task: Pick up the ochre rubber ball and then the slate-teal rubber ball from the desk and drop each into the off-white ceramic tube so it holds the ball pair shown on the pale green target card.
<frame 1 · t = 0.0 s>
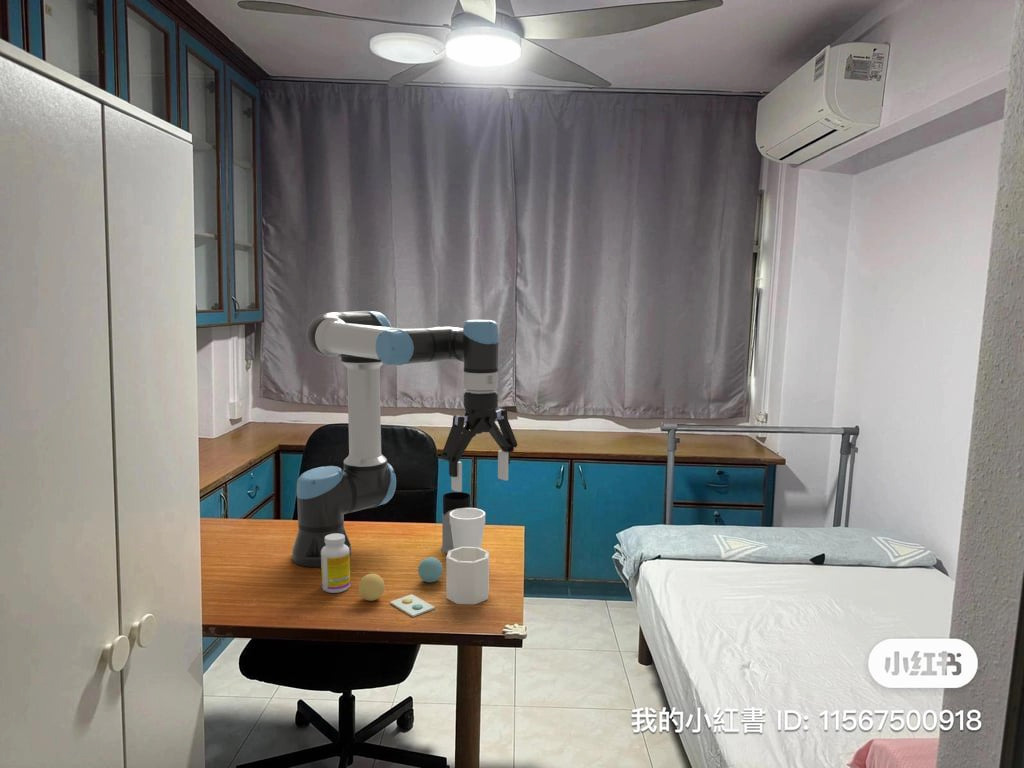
hand: (480, 484, 159), 28 cm above the table, fingers open, 13 cm apart
supplement bottle: (336, 588, 170), on the table
target card: (412, 606, 161), on the table
foam cup: (467, 561, 187), on the table
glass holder: (456, 545, 199), on the table
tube: (467, 595, 167), on the table
ball teal: (430, 581, 174), on the table
ball ochre: (371, 599, 164), on the table
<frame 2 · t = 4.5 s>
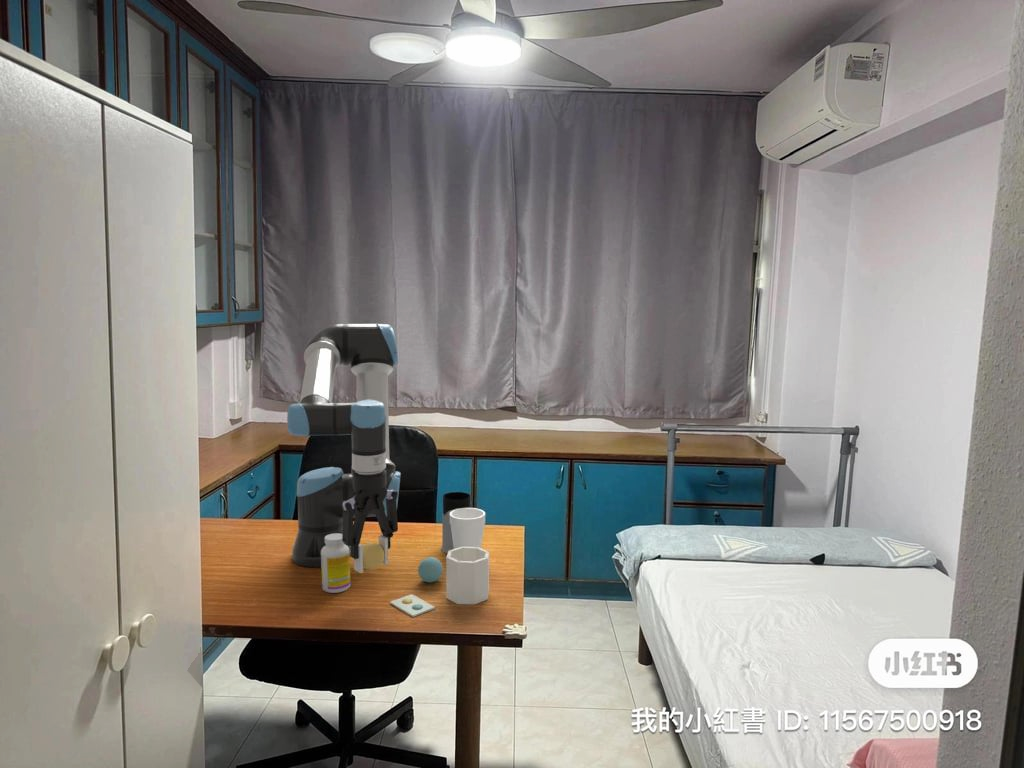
hand: (371, 566, 164), 8 cm above the table, fingers closed on ball ochre, 6 cm apart
ball ochre: (371, 568, 164), point 7 cm above the table, touching gripper
everything else where it was.
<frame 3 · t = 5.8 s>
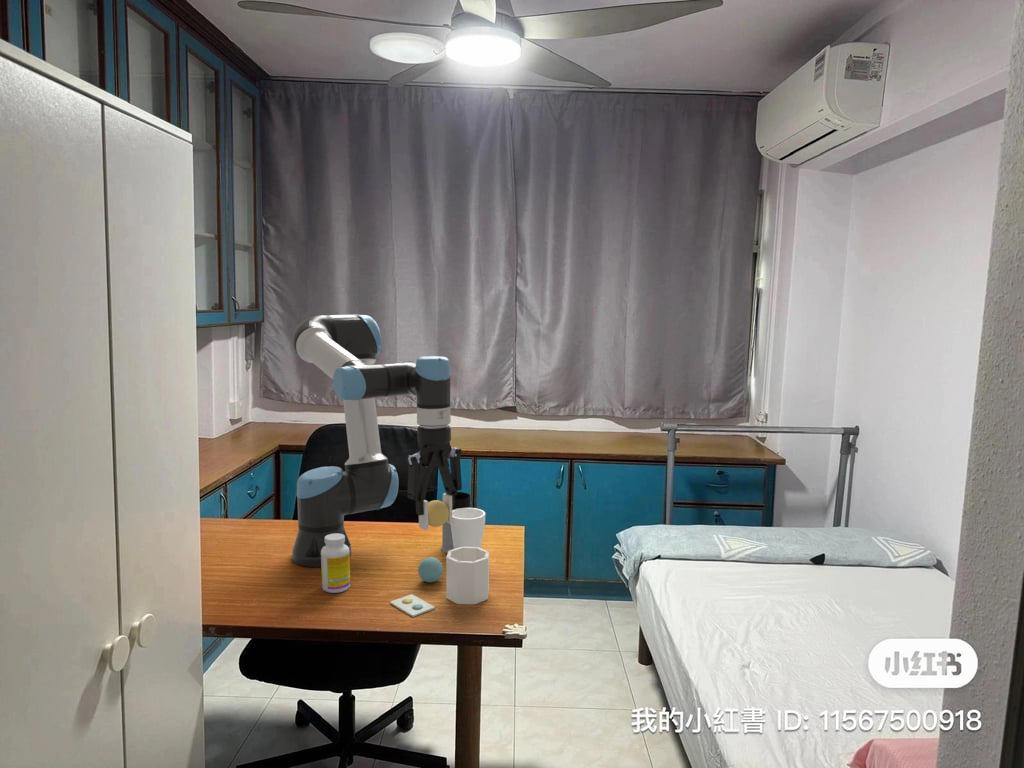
hand: (435, 524, 162), 18 cm above the table, fingers closed on ball ochre, 6 cm apart
ball ochre: (435, 526, 162), point 17 cm above the table, touching gripper
everything else where it was.
when the fingers open (11 cm above the table, at t = 7.4 s): ball ochre drops 10 cm, resting on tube.
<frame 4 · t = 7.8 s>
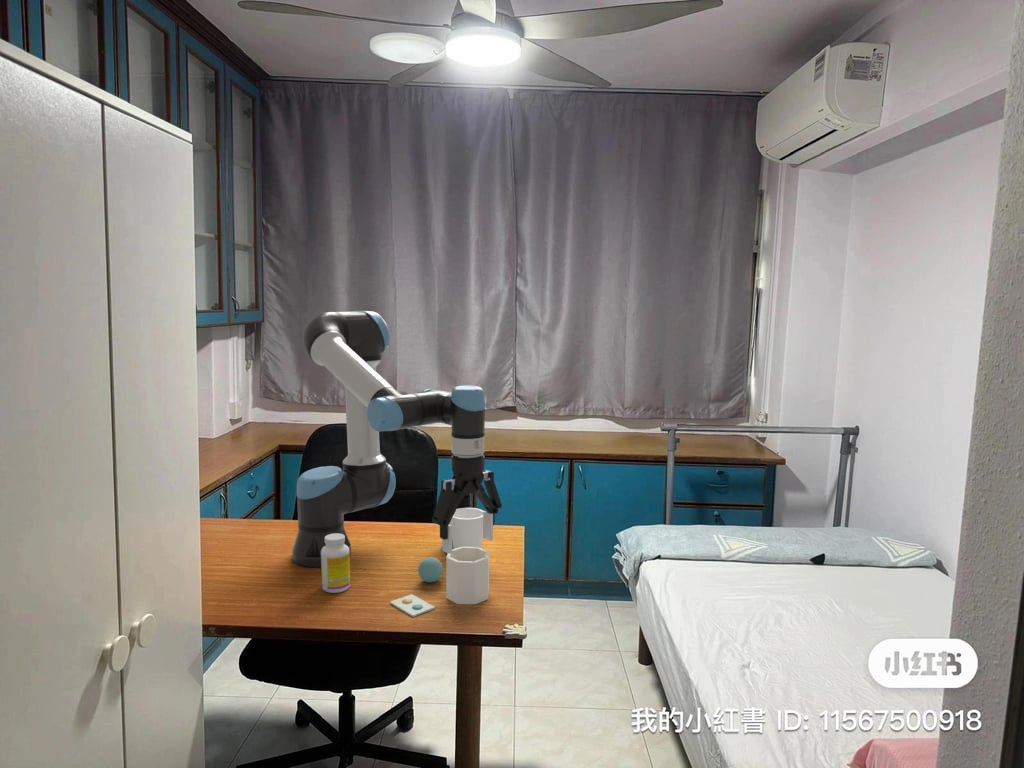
hand: (468, 545, 165), 12 cm above the table, fingers open, 11 cm apart
ball ochre: (468, 592, 167), point 1 cm above the table, touching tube
everything else where it was.
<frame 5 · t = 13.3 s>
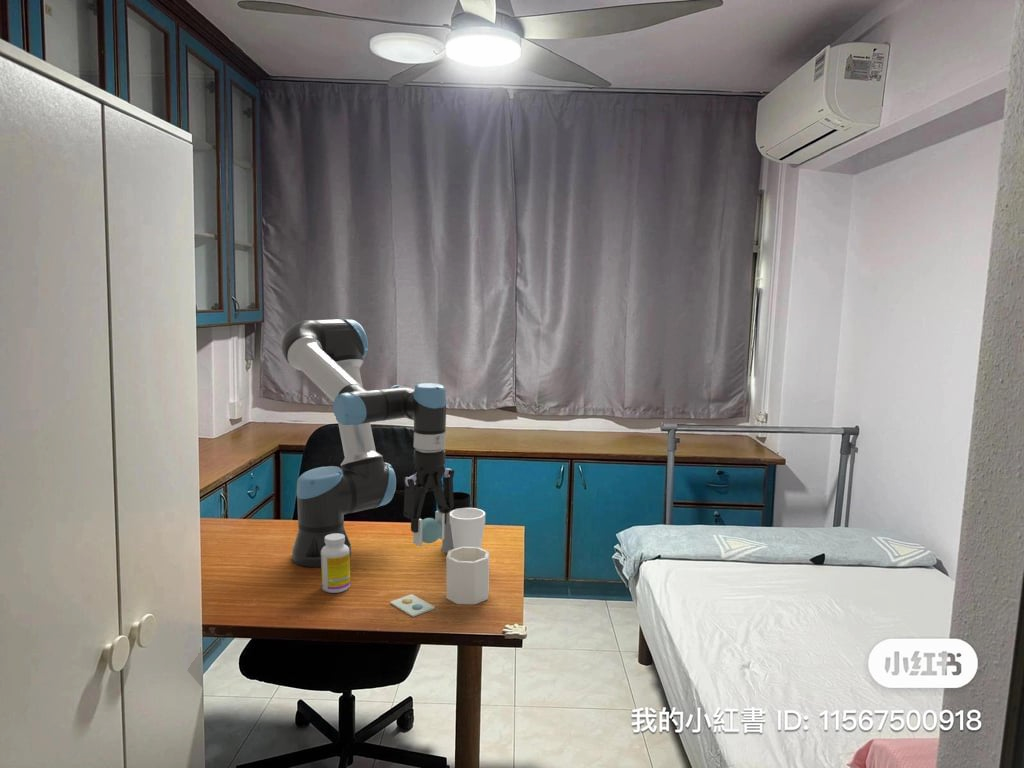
hand: (428, 540, 173), 10 cm above the table, fingers closed on ball teal, 6 cm apart
ball teal: (429, 542, 173), point 10 cm above the table, touching gripper
everything else where it was.
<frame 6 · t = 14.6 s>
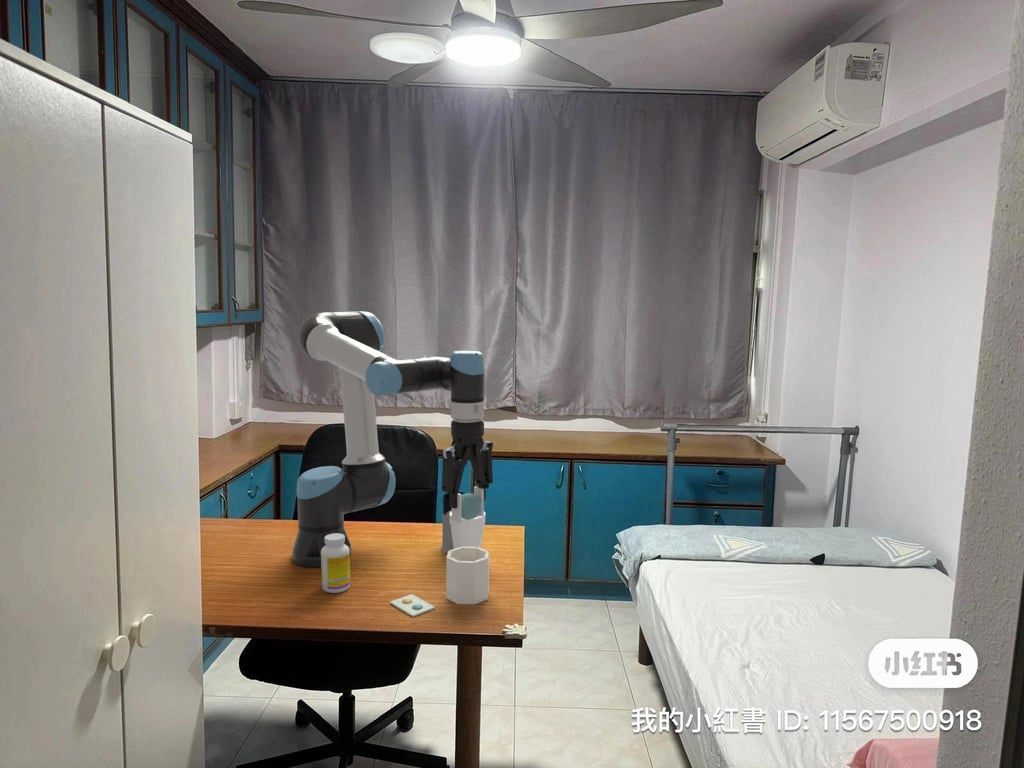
hand: (467, 517, 164), 19 cm above the table, fingers closed on ball teal, 6 cm apart
ball teal: (468, 518, 164), point 19 cm above the table, touching gripper
everything else where it was.
when the fingers open (11 cm above the table, at t = 16.0 s): ball teal drops 3 cm and tips over, resting on ball ochre, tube.
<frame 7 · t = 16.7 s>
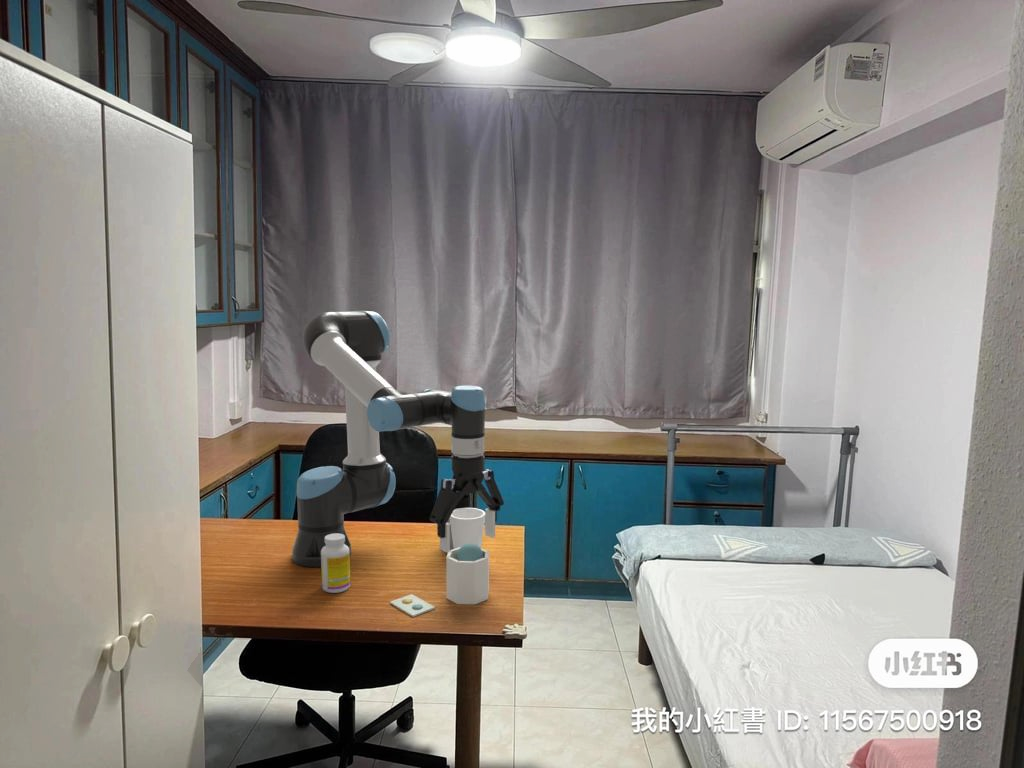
hand: (468, 543, 165), 13 cm above the table, fingers open, 13 cm apart
ball teal: (466, 567, 164), point 7 cm above the table, tilted 53°, touching ball ochre, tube
ball ochre: (468, 592, 167), point 1 cm above the table, tilted 18°, touching ball teal, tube
everything else where it was.
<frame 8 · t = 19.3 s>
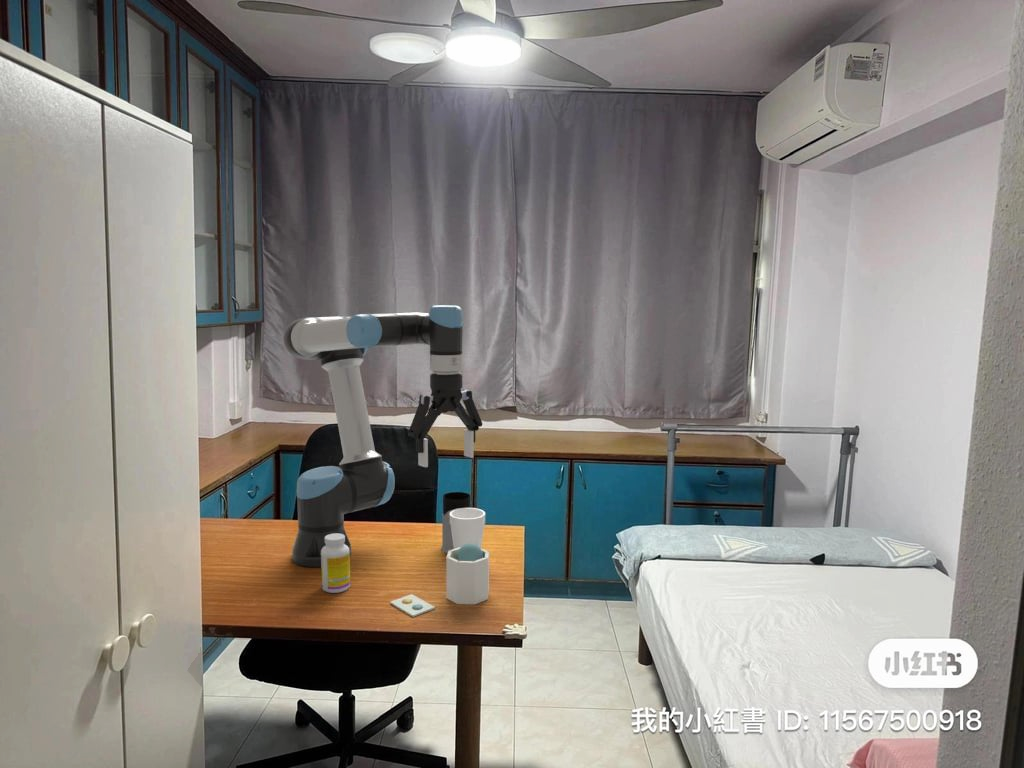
hand: (446, 461, 168), 31 cm above the table, fingers open, 13 cm apart
nothing on the table moved.
at the end: ball ochre 0.1 cm off-centre on the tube, point 0.7 cm above the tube's base; ball teal 1.3 cm off-centre on the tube, point 7.4 cm above the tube's base; the gripper is holding nothing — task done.
